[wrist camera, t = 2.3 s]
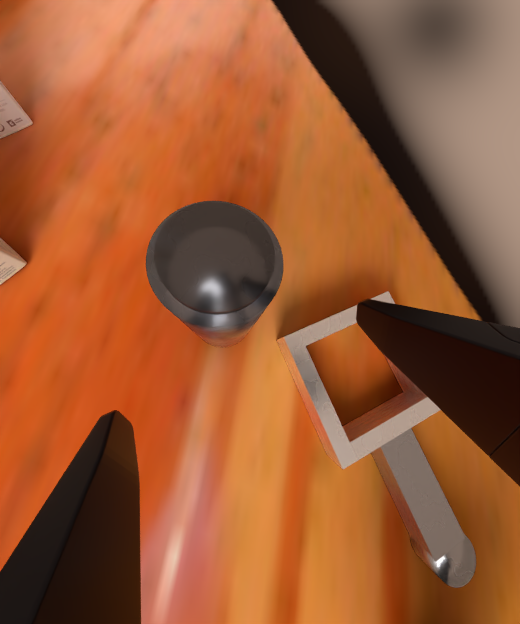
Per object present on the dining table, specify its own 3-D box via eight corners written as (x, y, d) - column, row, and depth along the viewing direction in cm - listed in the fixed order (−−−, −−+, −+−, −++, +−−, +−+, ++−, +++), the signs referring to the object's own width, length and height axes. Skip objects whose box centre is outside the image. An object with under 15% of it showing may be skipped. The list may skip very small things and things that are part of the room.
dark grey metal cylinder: (260, 333, 19) (309, 293, 7) (206, 356, 18) (170, 348, 7) (238, 283, 19) (254, 176, 8) (185, 302, 18) (120, 212, 7)
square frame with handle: (484, 522, 18) (524, 548, 16) (389, 597, 16) (419, 640, 14) (369, 299, 21) (388, 291, 18) (276, 340, 19) (283, 337, 16)
